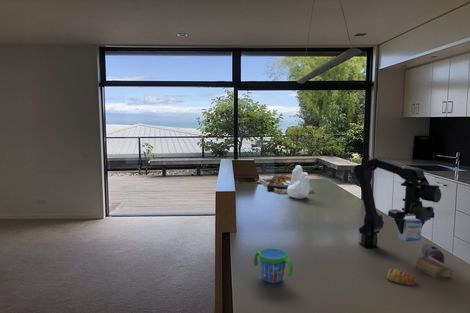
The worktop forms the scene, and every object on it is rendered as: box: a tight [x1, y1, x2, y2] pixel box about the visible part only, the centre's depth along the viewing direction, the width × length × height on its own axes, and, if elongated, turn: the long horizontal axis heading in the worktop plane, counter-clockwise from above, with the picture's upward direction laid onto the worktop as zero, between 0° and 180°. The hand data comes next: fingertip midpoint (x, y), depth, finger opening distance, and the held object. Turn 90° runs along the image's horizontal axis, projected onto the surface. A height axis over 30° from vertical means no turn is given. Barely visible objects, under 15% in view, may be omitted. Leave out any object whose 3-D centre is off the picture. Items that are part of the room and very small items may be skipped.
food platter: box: [266, 174, 292, 192], centre depth 305 cm, size 45×25×10 cm, turn 167°
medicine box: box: [398, 217, 423, 242], centre depth 148 cm, size 8×4×9 cm, turn 105°
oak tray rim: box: [258, 178, 315, 195], centre depth 305 cm, size 32×52×3 cm, turn 12°
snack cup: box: [253, 247, 294, 284], centre depth 127 cm, size 16×10×10 cm
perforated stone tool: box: [421, 243, 445, 264], centre depth 149 cm, size 15×5×7 cm, turn 172°
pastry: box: [386, 267, 416, 286], centre depth 129 cm, size 9×7×4 cm
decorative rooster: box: [287, 164, 311, 200], centre depth 260 cm, size 25×16×25 cm, turn 2°
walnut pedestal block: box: [415, 257, 452, 279], centre depth 138 cm, size 7×10×4 cm
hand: (409, 233), depth 148 cm, fingers closed on medicine box, 8 cm apart
